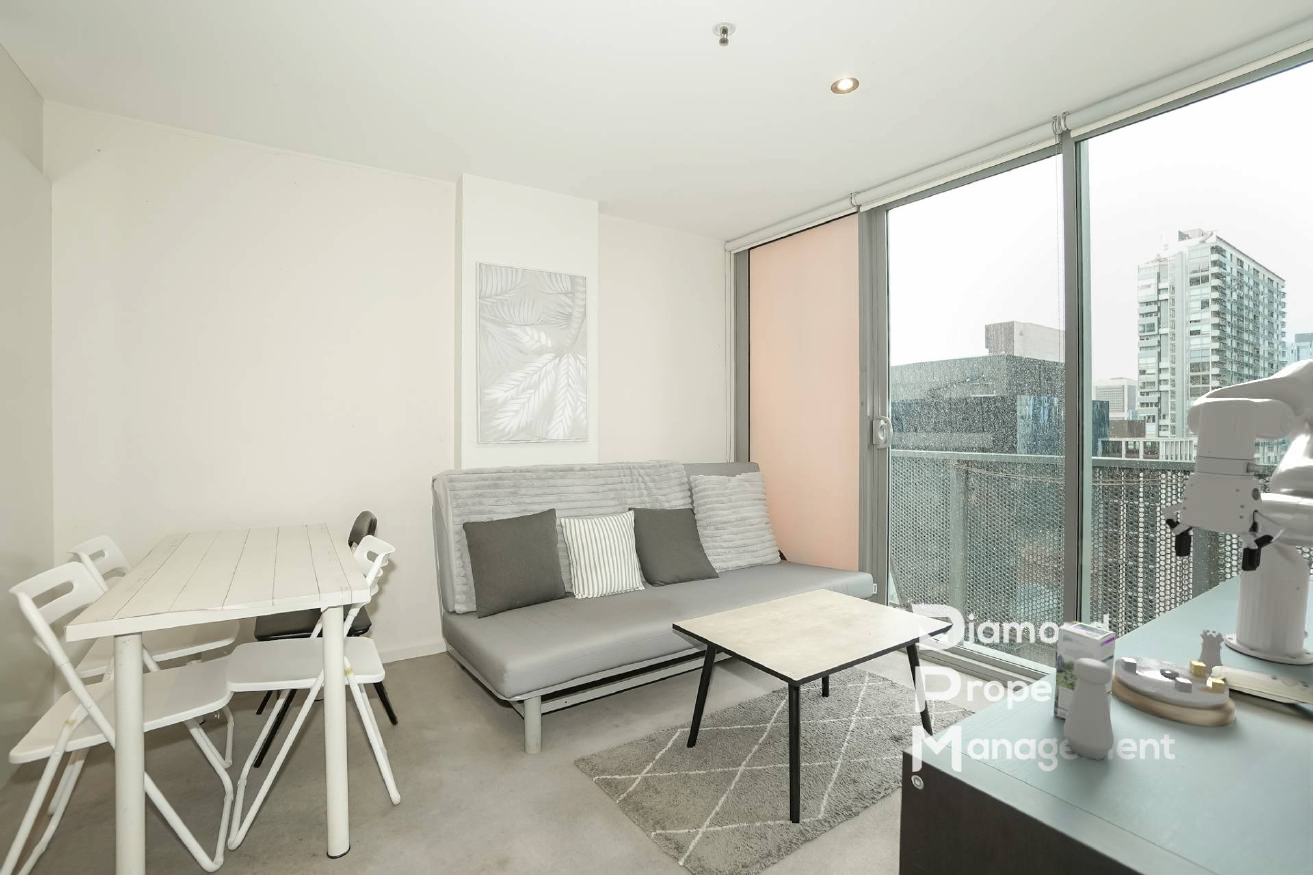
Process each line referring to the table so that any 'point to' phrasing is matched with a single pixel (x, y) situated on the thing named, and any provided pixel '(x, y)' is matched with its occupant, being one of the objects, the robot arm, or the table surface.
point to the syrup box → (1075, 645)
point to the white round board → (1172, 682)
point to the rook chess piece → (1210, 650)
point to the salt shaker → (1090, 711)
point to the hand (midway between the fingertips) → (1214, 563)
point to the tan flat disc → (1174, 708)
